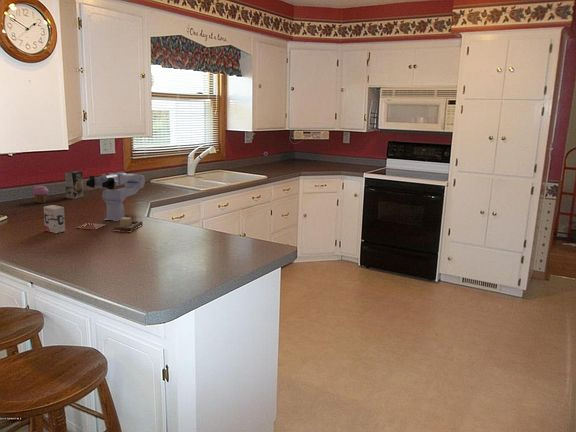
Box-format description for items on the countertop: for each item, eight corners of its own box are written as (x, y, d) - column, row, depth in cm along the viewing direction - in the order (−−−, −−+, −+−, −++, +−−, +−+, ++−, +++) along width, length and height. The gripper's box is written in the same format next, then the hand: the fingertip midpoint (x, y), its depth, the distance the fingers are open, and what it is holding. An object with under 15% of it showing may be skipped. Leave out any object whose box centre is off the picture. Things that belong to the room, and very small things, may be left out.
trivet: (86, 224, 233) (86, 223, 233) (106, 225, 232) (106, 224, 232) (75, 229, 223) (75, 227, 223) (96, 230, 222) (96, 229, 222)
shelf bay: (126, 224, 237) (126, 220, 236) (142, 225, 236) (142, 221, 235) (113, 231, 223) (113, 227, 222) (129, 232, 222) (129, 228, 221)
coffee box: (75, 198, 293) (73, 172, 290) (65, 198, 295) (64, 172, 291) (84, 196, 302) (82, 171, 299) (75, 195, 303) (73, 170, 300)
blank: (123, 227, 231) (123, 217, 230) (131, 227, 231) (131, 217, 230) (120, 228, 228) (119, 218, 226) (128, 229, 227) (127, 219, 226)
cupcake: (48, 203, 276) (47, 186, 274) (31, 204, 273) (30, 186, 271) (50, 200, 284) (48, 184, 282) (33, 201, 281) (32, 184, 279)
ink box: (44, 231, 217) (42, 206, 215) (54, 229, 221) (52, 204, 219) (56, 234, 213) (54, 208, 210) (66, 232, 217) (64, 207, 215)
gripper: (93, 171, 235) (80, 174, 221) (122, 174, 234) (110, 177, 220) (93, 185, 236) (80, 189, 223) (122, 188, 235) (110, 192, 222)
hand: (95, 184), depth 222 cm, fingers open, 7 cm apart
